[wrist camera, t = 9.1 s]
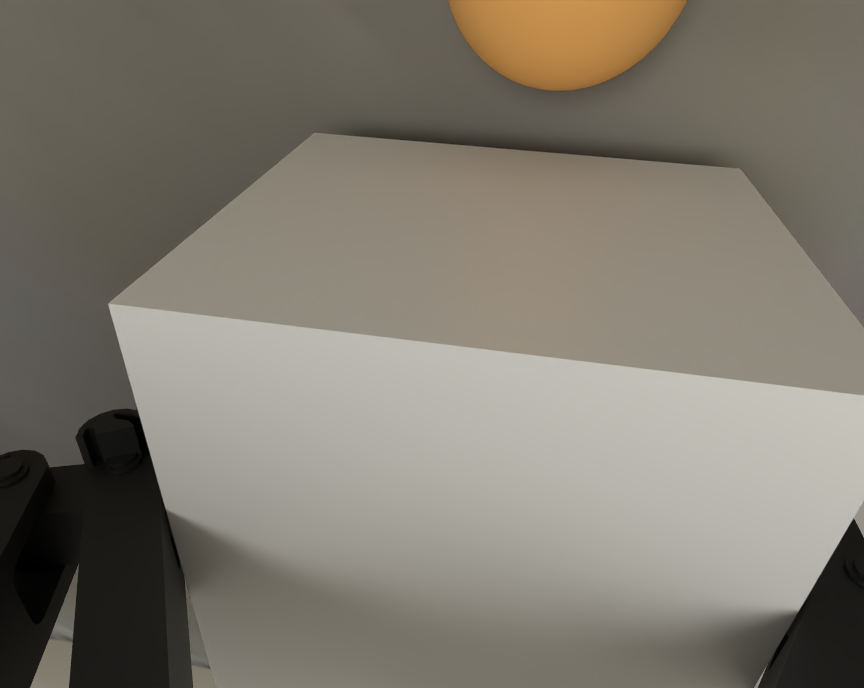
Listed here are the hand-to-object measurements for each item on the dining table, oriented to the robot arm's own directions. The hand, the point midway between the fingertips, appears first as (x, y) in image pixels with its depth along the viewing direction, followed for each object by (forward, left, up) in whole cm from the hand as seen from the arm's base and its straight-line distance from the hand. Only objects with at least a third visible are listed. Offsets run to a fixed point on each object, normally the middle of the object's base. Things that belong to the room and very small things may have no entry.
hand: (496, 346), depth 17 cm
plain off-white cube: (0, 0, -1) cm, 1 cm away
